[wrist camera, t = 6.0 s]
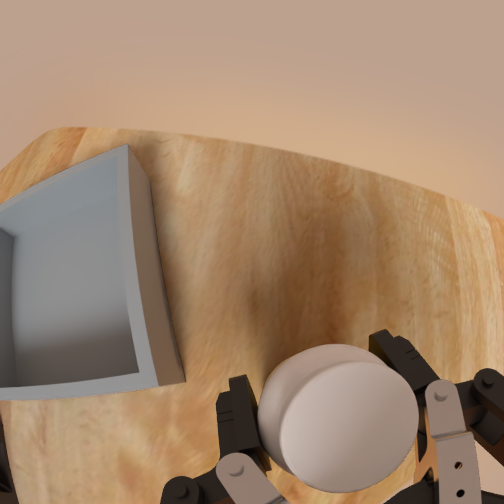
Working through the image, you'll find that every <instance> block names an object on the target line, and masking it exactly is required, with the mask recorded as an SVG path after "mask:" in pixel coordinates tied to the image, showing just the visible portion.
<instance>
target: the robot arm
mask: <svg viewBox="0 0 504 504" xmlns="http://www.w3.org/2000/svg"><path fill="white" fill-rule="evenodd" d="M369 352H371V353H372V354H374V355H375V356H377V357H378V358H379V359H381V360H382V361H383V362H384V363H385V364H386V365H387V366H388V367H389V368H391V369H392V370H394V371H395V372H397V373H398V374H399V375H401V376H402V377H403V378H404V379H405V380H406V382H407V383H408V384H409V386H410V387H411V389H412V391H413V393H414V395H415V398H416V401H417V406H418V413H419V421H418V429H417V434H416V437H415V454H416V469H415V473H414V485H412V486H410V487H408V488H406V489H404V490H402V491H400V492H399V493H397V494H396V495H395V496H393V497H392V498H391V499H390V500H388V501H386V502H385V503H384V504H504V496H503V495H498V494H494V493H490V492H486V491H482V490H481V487H480V477H479V468H478V461H477V454H476V447H475V442H474V439H475V440H476V441H477V442H478V443H479V444H480V445H481V446H482V447H483V448H484V449H485V450H487V452H489V453H490V454H491V455H492V456H493V457H494V458H495V459H496V460H497V461H498V462H499V463H500V464H502V466H504V376H503V375H501V374H500V373H499V372H497V371H496V370H494V369H490V368H485V369H482V370H480V371H479V372H477V374H476V375H475V377H474V379H473V380H470V381H466V382H462V383H458V384H453V383H452V382H450V381H448V380H441V379H440V378H439V377H438V376H437V375H436V373H435V372H434V371H433V370H432V368H431V367H430V366H429V365H428V363H427V362H426V361H425V360H424V359H423V357H422V356H420V354H419V352H418V351H417V350H415V348H414V346H413V345H412V344H411V343H410V342H409V341H408V340H406V339H405V338H403V337H401V336H397V337H394V338H393V336H392V335H391V334H390V333H389V332H388V330H386V329H383V330H381V331H378V332H376V333H373V334H371V335H369ZM229 387H230V391H227V392H222V393H220V394H219V396H218V399H217V402H216V412H217V422H218V435H219V446H220V459H219V462H218V463H217V465H216V466H215V467H214V468H213V469H212V470H211V471H209V472H207V473H205V474H203V475H201V476H198V477H196V478H194V479H191V478H189V477H186V476H178V477H175V478H172V479H171V480H169V481H168V482H167V483H166V485H165V486H164V489H163V493H162V497H161V502H160V504H290V503H289V502H288V501H287V500H286V499H285V498H284V497H283V496H282V495H281V494H280V493H279V492H278V491H277V489H276V488H275V487H274V486H273V485H272V484H271V482H270V481H269V480H268V479H267V475H266V471H270V470H272V469H271V464H270V460H269V455H268V453H267V452H266V450H265V448H264V446H263V444H262V441H261V439H260V435H259V431H258V422H257V413H258V405H257V402H256V398H255V395H254V393H253V390H252V388H251V385H250V383H249V380H248V378H247V375H246V374H245V375H241V376H237V377H233V378H229Z"/></svg>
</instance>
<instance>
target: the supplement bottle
mask: <svg viewBox="0 0 504 504" xmlns="http://www.w3.org/2000/svg"><path fill="white" fill-rule="evenodd" d="M418 421H419V413H418V406H417V401H416V398H415V395H414V393H413V391H412V389H411V387H410V386H409V384H408V383H407V382H406V380H405V379H404V378H403V377H402V376H401V375H399V374H398V373H397V372H395V371H394V370H392V369H391V368H389V367H388V366H387V365H386V364H385V363H384V362H383V361H382V360H381V359H379V358H378V357H377V356H375V355H374V354H372V353H371V352H369V351H367V350H364V349H362V348H359V347H356V346H352V345H346V344H326V345H321V346H316V347H313V348H309V349H307V350H304V351H302V352H300V353H298V354H295V355H293V356H291V357H289V358H287V359H286V360H284V361H282V362H281V363H280V364H278V365H277V366H276V367H275V369H274V370H273V371H272V372H271V373H270V375H269V376H268V378H267V380H266V382H265V384H264V387H263V390H262V394H261V397H260V401H259V405H258V413H257V422H258V431H259V435H260V439H261V441H262V444H263V446H264V448H265V450H266V452H267V453H268V455H269V456H270V457H271V459H272V460H273V461H274V462H275V463H276V464H277V465H278V466H280V467H281V468H282V469H284V470H285V471H287V472H288V473H290V474H292V475H294V476H296V477H297V478H298V479H299V480H301V481H302V482H304V483H305V484H307V485H308V486H310V487H312V488H315V489H318V490H321V491H324V492H330V493H349V492H355V491H359V490H363V489H365V488H368V487H370V486H372V485H375V484H377V483H378V482H380V481H382V480H383V479H385V478H386V477H388V476H389V475H390V474H391V473H392V472H393V471H395V470H396V469H397V468H398V466H399V465H400V464H401V463H402V462H403V461H404V459H405V458H406V456H407V455H408V453H409V451H410V449H411V447H412V445H413V443H414V440H415V437H416V434H417V429H418Z"/></svg>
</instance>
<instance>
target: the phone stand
mask: <svg viewBox="0 0 504 504" xmlns="http://www.w3.org/2000/svg"><path fill="white" fill-rule="evenodd" d="M0 504H19V502H18V498H17V495H16V491H15V487H14V483H13V479H12V475H11V470H10V469H9V461H8V455H7V450H6V443H5V437H4V429H3V424H2V423H0Z"/></svg>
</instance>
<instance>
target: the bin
mask: <svg viewBox="0 0 504 504" xmlns="http://www.w3.org/2000/svg"><path fill="white" fill-rule="evenodd" d="M183 382H186V380H185V376H184V372H183V368H182V364H181V360H180V356H179V352H178V347H177V343H176V338H175V334H174V329H173V325H172V320H171V315H170V310H169V305H168V300H167V295H166V289H165V284H164V278H163V272H162V266H161V260H160V254H159V248H158V241H157V234H156V227H155V219H154V211H153V203H152V194H151V185H150V180H149V178H148V177H147V175H146V173H145V172H144V170H143V168H142V167H141V165H140V163H139V162H138V160H137V158H136V157H135V155H134V153H133V152H132V150H131V148H130V146H129V145H128V144H125V145H122V146H120V147H117V148H115V149H112V150H110V151H107V152H105V153H102V154H100V155H97V156H95V157H93V158H90V159H88V160H86V161H84V162H81V163H79V164H77V165H75V166H72V167H70V168H68V169H66V170H64V171H62V172H60V173H58V174H56V175H54V176H52V177H50V178H48V179H46V180H44V181H42V182H40V183H38V184H36V185H34V186H32V187H30V188H28V189H27V190H25V191H23V192H21V193H19V194H18V195H16V196H14V197H12V198H10V199H9V200H7V201H5V202H4V203H2V204H0V400H49V399H65V398H78V397H89V396H98V395H107V394H115V393H123V392H130V391H137V390H143V389H150V388H156V387H161V386H167V385H172V384H178V383H183Z"/></svg>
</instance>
